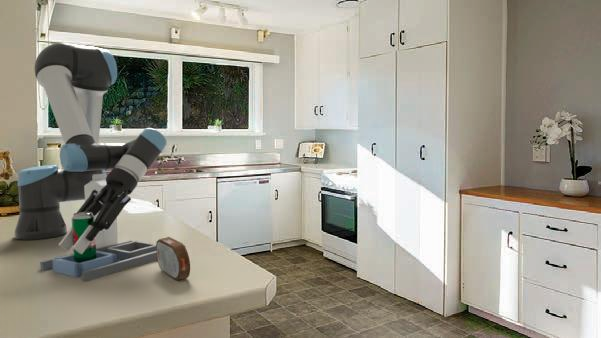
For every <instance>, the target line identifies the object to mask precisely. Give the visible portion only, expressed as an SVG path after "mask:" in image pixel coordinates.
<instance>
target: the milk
mask: <svg viewBox="0 0 601 338" xmlns="http://www.w3.org/2000/svg"><path fill="white" fill-rule="evenodd" d="M107 176H108V174H107V172H106V173H103V174H95V175H92V181H90V182H89V183H88V184H86V185H85V186H84V191H85V200H84V203H85V202H86V200H87V199H88V198H89V197H90V195H91V193H92V191H93V190H96V191H97V192H98V191H101V189H102V188H104V187H105V186H106V184H107V183H106V177H107ZM99 202H100V201H99ZM100 203H101V202H100ZM101 204H102V203H101ZM99 212H100V211H99ZM99 212H98V213H97V214H96V215H95V216H94V217H95V219H96V217H97V216H98V214H99ZM117 218H118V217H117ZM117 218H116V219H115V220H114V222H113V223H112V225H111V226H110V228H109V229H107V230H106V229H103V230H102V231H99V233H98V234H97V235H96V248H99V247H103V246H108V245H112V244H116V243H119V240H118V239H119V238H118V219H117Z"/></svg>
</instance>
